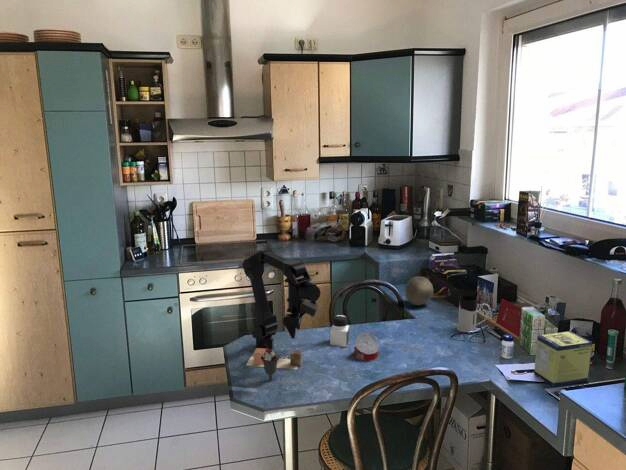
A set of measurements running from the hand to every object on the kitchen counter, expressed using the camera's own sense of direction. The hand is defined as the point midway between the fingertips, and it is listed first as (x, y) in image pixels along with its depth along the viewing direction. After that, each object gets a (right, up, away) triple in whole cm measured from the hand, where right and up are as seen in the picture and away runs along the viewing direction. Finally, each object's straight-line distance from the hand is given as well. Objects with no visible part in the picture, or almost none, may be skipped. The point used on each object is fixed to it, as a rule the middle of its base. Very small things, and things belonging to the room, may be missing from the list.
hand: (295, 333), depth 198 cm
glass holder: (+79, -6, +36) cm, 87 cm away
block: (-14, -11, +2) cm, 18 cm away
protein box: (+98, -15, -8) cm, 100 cm away
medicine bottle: (+18, -9, +22) cm, 30 cm away
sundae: (-9, -16, -12) cm, 22 cm away
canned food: (+28, -11, +11) cm, 32 cm away
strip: (-9, -13, +2) cm, 15 cm away
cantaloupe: (+62, +1, +69) cm, 93 cm away
